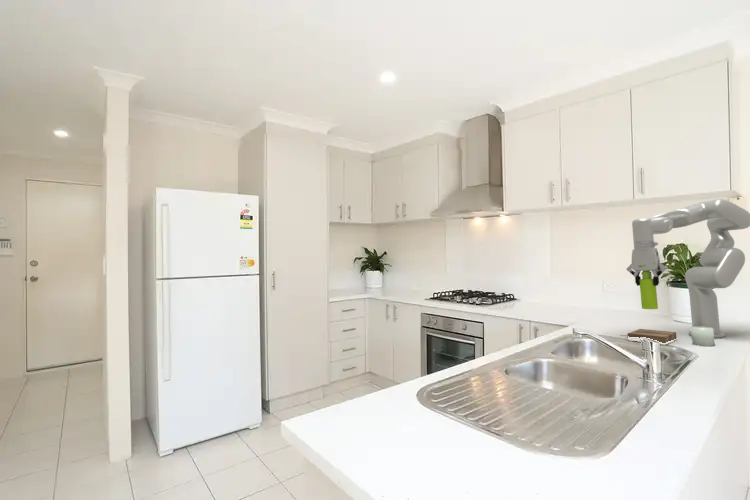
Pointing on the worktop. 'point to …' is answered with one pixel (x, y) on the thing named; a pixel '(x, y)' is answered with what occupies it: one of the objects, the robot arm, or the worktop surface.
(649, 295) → the soap dispenser
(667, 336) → the walnut plinth
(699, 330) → the pale green rounded block
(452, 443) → the worktop surface
